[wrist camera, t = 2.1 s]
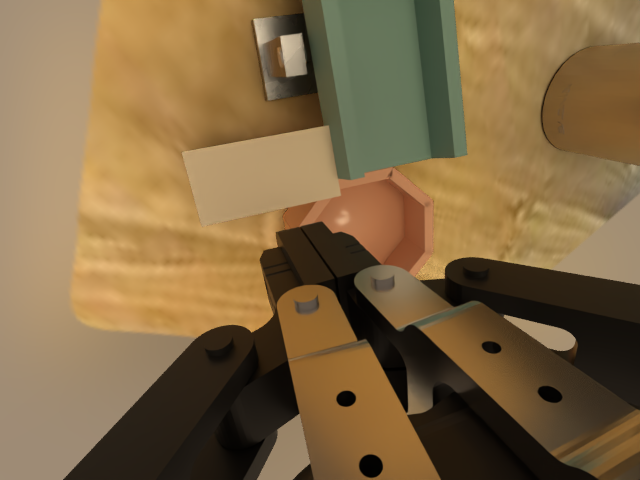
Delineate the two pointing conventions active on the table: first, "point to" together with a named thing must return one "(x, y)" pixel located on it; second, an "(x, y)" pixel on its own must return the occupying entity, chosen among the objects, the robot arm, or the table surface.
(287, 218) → the pink octagonal bowl
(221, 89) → the table surface
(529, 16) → the table surface
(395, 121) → the chute
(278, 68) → the chute stand
